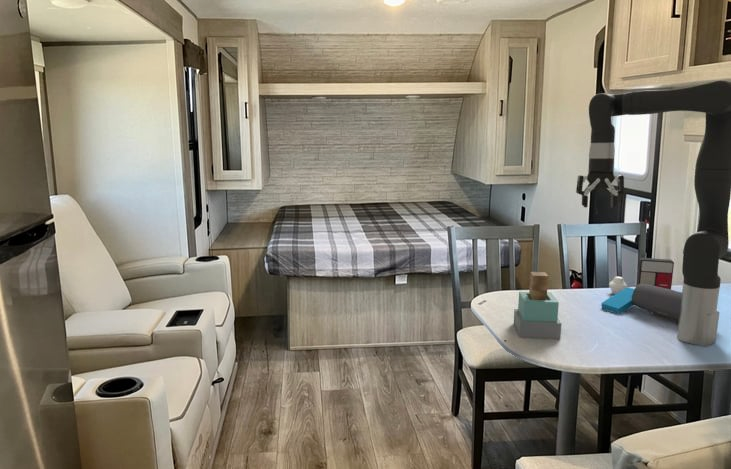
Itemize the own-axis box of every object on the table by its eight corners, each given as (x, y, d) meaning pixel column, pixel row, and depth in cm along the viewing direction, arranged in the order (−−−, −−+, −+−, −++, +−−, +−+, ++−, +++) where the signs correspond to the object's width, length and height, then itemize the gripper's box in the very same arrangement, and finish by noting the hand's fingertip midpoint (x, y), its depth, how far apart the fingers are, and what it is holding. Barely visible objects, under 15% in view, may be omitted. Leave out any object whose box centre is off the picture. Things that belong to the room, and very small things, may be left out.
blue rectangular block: (620, 326, 188) (652, 304, 196) (618, 308, 186) (651, 287, 194) (603, 320, 194) (635, 299, 202) (601, 303, 192) (633, 282, 199)
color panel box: (637, 299, 203) (641, 260, 200) (635, 295, 207) (639, 257, 204) (670, 302, 200) (674, 262, 197) (667, 298, 204) (671, 259, 201)
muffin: (623, 297, 205) (625, 279, 204) (606, 294, 209) (608, 276, 208) (627, 293, 210) (629, 275, 209) (610, 290, 214) (612, 273, 212)
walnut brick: (543, 298, 171) (545, 272, 169) (546, 302, 166) (548, 276, 165) (528, 298, 171) (530, 271, 170) (531, 302, 167) (533, 275, 165)
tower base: (551, 325, 176) (553, 291, 174) (560, 339, 164) (562, 303, 162) (513, 323, 177) (515, 290, 175) (519, 337, 166) (521, 302, 163)
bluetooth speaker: (712, 327, 174) (716, 297, 172) (695, 332, 170) (699, 301, 168) (645, 307, 194) (648, 280, 192) (629, 311, 189) (631, 283, 187)
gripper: (581, 157, 173) (579, 208, 175) (629, 157, 171) (625, 208, 173) (575, 157, 180) (573, 206, 182) (620, 157, 179) (617, 206, 181)
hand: (599, 207), depth 178 cm, fingers open, 8 cm apart
